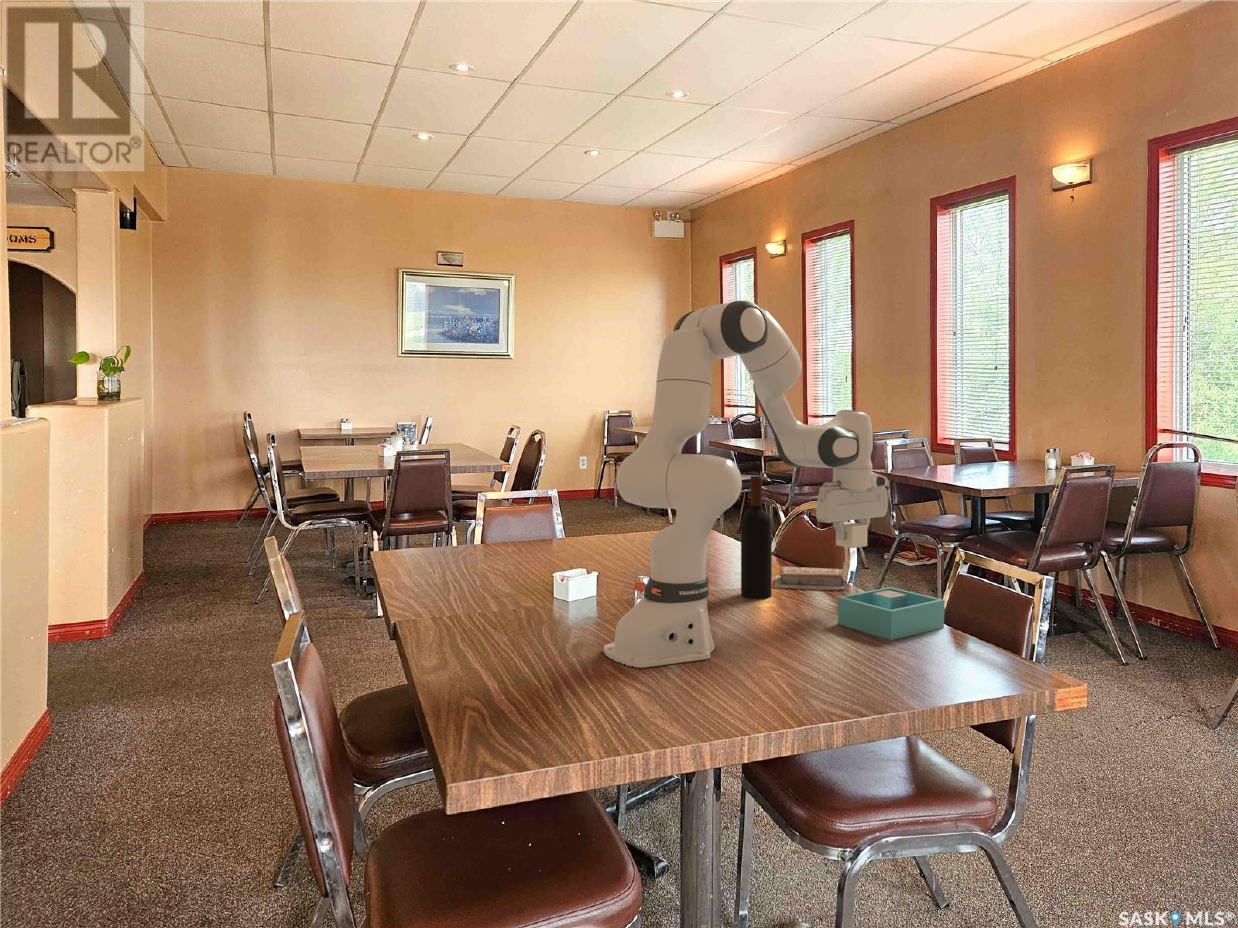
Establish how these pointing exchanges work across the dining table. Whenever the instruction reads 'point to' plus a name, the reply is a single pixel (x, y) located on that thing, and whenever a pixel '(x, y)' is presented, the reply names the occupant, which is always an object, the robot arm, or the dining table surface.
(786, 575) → the packaged product
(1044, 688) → the dining table surface
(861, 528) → the cream box
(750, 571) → the wine bottle
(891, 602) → the steel block
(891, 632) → the box
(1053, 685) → the dining table surface
